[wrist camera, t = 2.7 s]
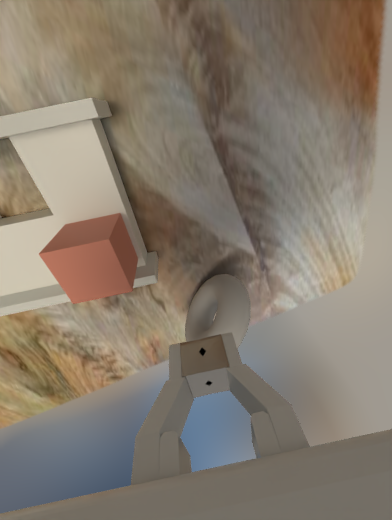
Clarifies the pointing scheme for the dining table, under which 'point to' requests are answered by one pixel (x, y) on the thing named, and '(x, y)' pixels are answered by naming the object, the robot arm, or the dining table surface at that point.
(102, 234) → the block
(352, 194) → the dining table surface
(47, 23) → the dining table surface
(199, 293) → the donut
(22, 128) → the tray
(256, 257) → the dining table surface
